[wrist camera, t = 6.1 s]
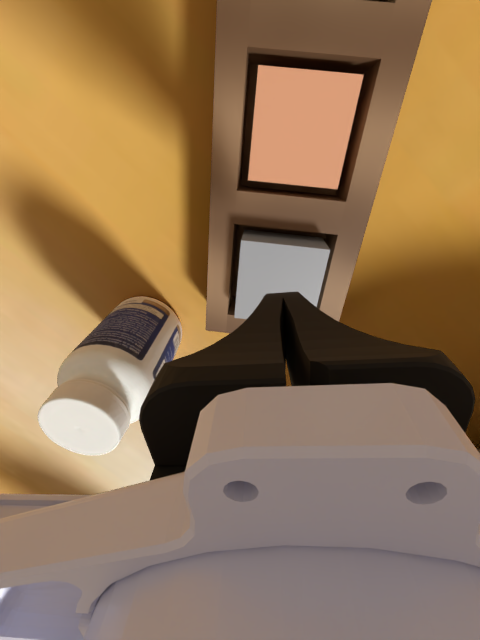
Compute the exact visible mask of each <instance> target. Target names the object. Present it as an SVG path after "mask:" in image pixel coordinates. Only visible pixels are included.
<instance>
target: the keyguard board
mask: <svg viewBox="0 0 480 640" xmlns="http://www.w3.org/2000/svg"><path fill="white" fill-rule="evenodd" d="M431 2H432V0H217V16H216V45H215V74H214V103H213V132H212V161H211V191H210V220H209V249H208V278H207V307H206V330H208V331H217V332H225V333H232V332H233V331H234V330H236V329H237V328H238V327H239V326H240V325H242V324H243V323H244V321H245V320H246V319H241V318H234V315H235V304H236V293H237V281H238V270H239V258H240V247H241V239H242V236H243V232H244V229H245V230H254V231H263V232H273V233H282V234H292V235H301V236H311V237H320V238H323V239H324V241H325V242H326V244H327V246H328V247H329V249H330V253H329V257H328V262H327V266H326V270H325V274H324V278H323V282H322V287H321V291H320V295H319V299H318V303H317V308H318V309H319V310H321V311H322V312H324V313H325V314H327V315H328V316H330V317H331V318H333V319H335V320H337V321H338V322H339V320H340V316H341V313H342V309H343V306H344V302H345V299H346V295H347V292H348V289H349V285H350V282H351V278H352V275H353V271H354V268H355V264H356V261H357V257H358V254H359V251H360V247H361V244H362V240H363V237H364V233H365V230H366V226H367V223H368V219H369V216H370V213H371V209H372V206H373V202H374V199H375V195H376V192H377V188H378V185H379V181H380V178H381V175H382V171H383V168H384V164H385V161H386V157H387V154H388V150H389V147H390V144H391V140H392V137H393V133H394V130H395V126H396V123H397V119H398V116H399V112H400V109H401V106H402V102H403V99H404V95H405V92H406V88H407V85H408V81H409V78H410V74H411V71H412V68H413V64H414V61H415V57H416V54H417V50H418V47H419V43H420V40H421V36H422V33H423V30H424V26H425V23H426V19H427V16H428V12H429V9H430V5H431ZM258 65H264V66H275V67H286V68H297V69H308V70H319V71H330V72H341V73H352V74H363V75H364V76H363V80H362V84H361V89H360V93H359V97H358V102H357V106H356V111H355V115H354V119H353V124H352V128H351V132H350V137H349V141H348V146H347V150H346V154H345V159H344V163H343V167H342V172H341V176H340V181H339V185H338V189H329V188H319V187H310V186H300V185H290V184H280V183H270V182H260V181H251V180H248V174H249V163H250V152H251V141H252V130H253V118H254V107H255V96H256V85H257V74H258Z"/></svg>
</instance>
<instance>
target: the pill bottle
mask: <svg viewBox="0 0 480 640" xmlns="http://www.w3.org/2000/svg"><path fill="white" fill-rule="evenodd" d="M181 338H182V327H181V323H180V321H179V319H178V317H177V316H176V314H175V313H174V312H173V310H172V309H171V308H169V307H168V306H167V305H166V304H164V303H163V302H161V301H159V300H157V299H154V298H151V297H144V296H139V297H133V298H129V299H126V300H124V301H123V302H121V303H120V304H119V305H118V306H117V307H116V308H115V309H113V311H112V312H111V313H110V314H109V315H108V316H107V317H106V318H105V319H104V320H103V321H102V322H101V323H100V324H99V325H98V326H97V327H96V328H95V329H94V330H93V331H92V332H91V333H90V334H89V335H88V336H87V337H86V338H85V339H84V340H83V341H82V342H81V343H80V344H79V345H78V346H77V347H76V348H75V349H74V350H73V351H72V352H71V353H70V354H69V355H68V356H67V358H66V359H65V360H64V361H63V363H62V365H61V366H60V368H59V371H58V376H57V383H58V387H57V388H56V389H55V390H54V391H53V393H52V394H51V395H50V396H49V398H48V399H47V400H46V401H45V402H44V403H43V405H42V406H41V408H40V410H39V413H38V421H39V425H40V427H41V429H42V430H43V432H44V433H45V434H46V435H47V436H48V437H49V439H51V440H52V441H53V442H55V443H56V444H58V445H59V446H61V447H63V448H65V449H67V450H69V451H72V452H75V453H79V454H83V455H102V454H106V453H108V452H111V451H112V450H114V449H115V448H116V447H117V445H118V444H119V442H120V440H121V439H122V437H123V435H124V433H125V432H126V431H127V429H128V427H129V424H130V423H133V422H135V421H137V420H139V415H140V409H141V406H142V404H143V402H144V400H145V398H146V396H147V394H148V392H149V390H150V388H151V386H152V384H153V382H154V380H155V378H156V376H157V374H158V373H159V371H160V370H161V368H162V366H163V365H164V363H166V362H170V361H172V360H173V358H174V356H175V354H176V352H177V349H178V347H179V345H180V342H181Z"/></svg>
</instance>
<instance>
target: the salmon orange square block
mask: <svg viewBox="0 0 480 640" xmlns="http://www.w3.org/2000/svg"><path fill="white" fill-rule="evenodd" d="M363 76H364V75H363V74H352V73H341V72H330V71H319V70H308V69H297V68H286V67H275V66H264V65H258V74H257V85H256V96H255V107H254V118H253V130H252V141H251V152H250V163H249V174H248V180H251V181H260V182H270V183H280V184H290V185H300V186H310V187H319V188H329V189H338V185H339V181H340V176H341V172H342V167H343V163H344V159H345V154H346V150H347V146H348V141H349V137H350V132H351V128H352V124H353V119H354V115H355V111H356V106H357V102H358V97H359V93H360V89H361V84H362V80H363Z"/></svg>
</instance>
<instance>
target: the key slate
mask: <svg viewBox="0 0 480 640" xmlns="http://www.w3.org/2000/svg"><path fill="white" fill-rule="evenodd" d="M329 253H330V249H329V247H328V246H327V244H326V242H325V241H324V239H323V238H320V237H311V236H301V235H292V234H282V233H273V232H263V231H254V230H245V229H244V232H243V236H242V239H241V247H240V258H239V270H238V281H237V293H236V304H235V315H234V318H241V319H247V318H248V317H249V316H250V315H251V314H252V313H253V311H254V310H255V309H256V307H257V306H258V305H259V303H260V302H261V300H262V299H263V297H264V296H265V295H266V294H269V293H283V292H297V291H298V292H299V293H300V294H301V295H303V296H304V297H305V298H306V299H307V300H308V301H309V302H311V303H312V304H313V305H314V306H315V307H317V303H318V299H319V295H320V291H321V287H322V282H323V278H324V274H325V270H326V266H327V262H328V257H329Z"/></svg>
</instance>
